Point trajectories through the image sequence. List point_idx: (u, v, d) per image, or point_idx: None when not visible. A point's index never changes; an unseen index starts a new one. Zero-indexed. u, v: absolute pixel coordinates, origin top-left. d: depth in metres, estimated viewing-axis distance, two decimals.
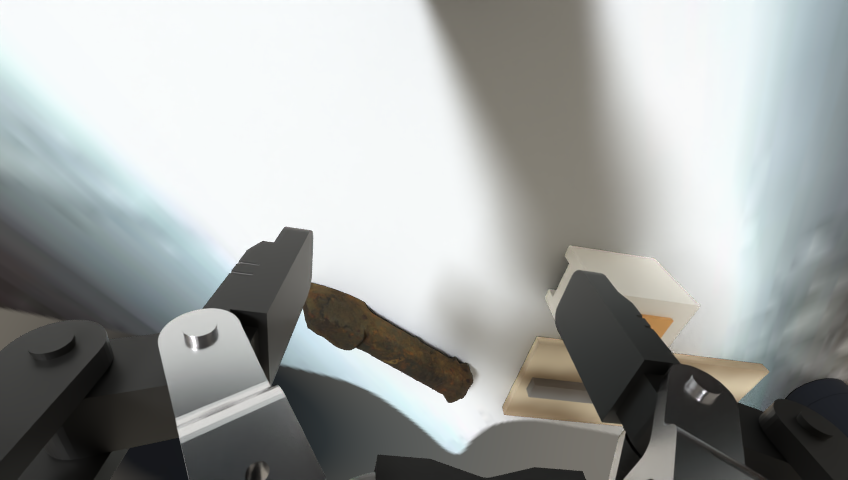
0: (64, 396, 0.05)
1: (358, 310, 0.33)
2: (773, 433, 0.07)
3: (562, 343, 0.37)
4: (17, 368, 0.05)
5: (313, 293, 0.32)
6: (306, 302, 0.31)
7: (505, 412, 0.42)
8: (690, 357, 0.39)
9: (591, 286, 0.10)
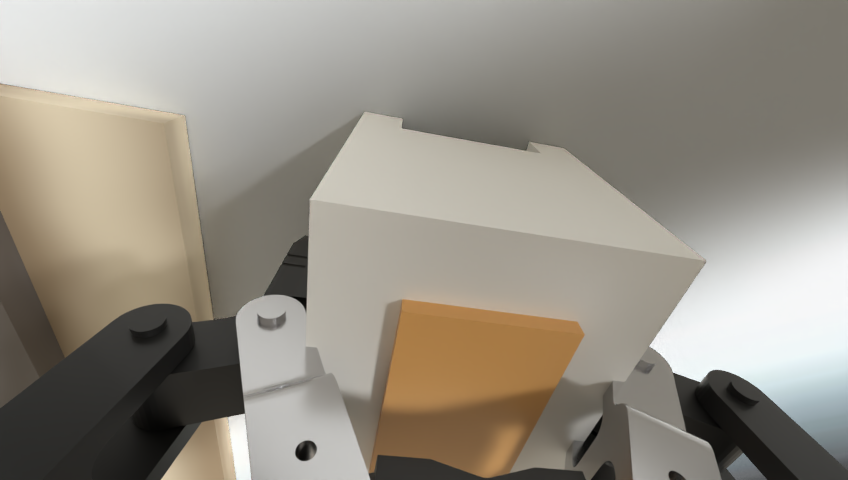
0: (151, 373, 0.05)
1: None
2: (710, 406, 0.07)
3: (187, 204, 0.11)
4: (118, 342, 0.06)
5: None
6: None
7: None
8: (230, 462, 0.18)
9: None
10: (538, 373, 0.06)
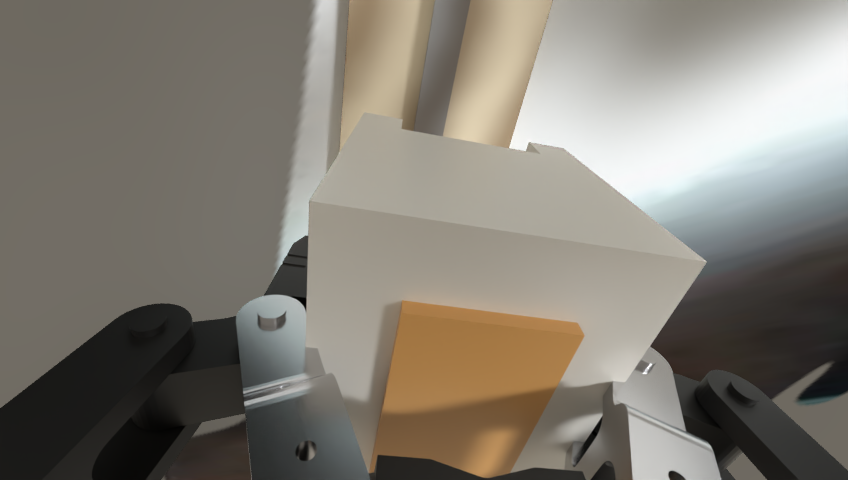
0: (151, 373, 0.05)
1: None
2: (709, 405, 0.07)
3: None
4: (119, 342, 0.06)
5: None
6: None
7: None
8: None
9: None
10: (538, 375, 0.06)
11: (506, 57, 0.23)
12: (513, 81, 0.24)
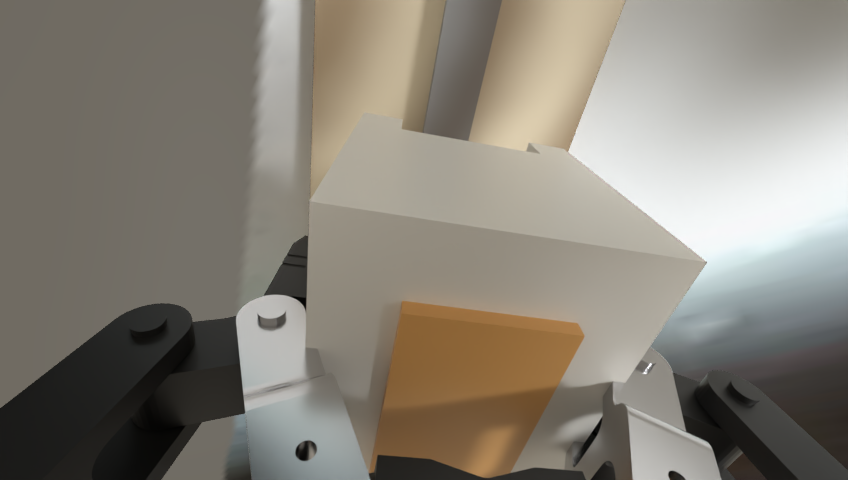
0: (151, 373, 0.05)
1: None
2: (710, 405, 0.07)
3: None
4: (119, 342, 0.06)
5: None
6: None
7: None
8: None
9: None
10: (538, 375, 0.06)
11: (555, 71, 0.16)
12: (563, 105, 0.16)
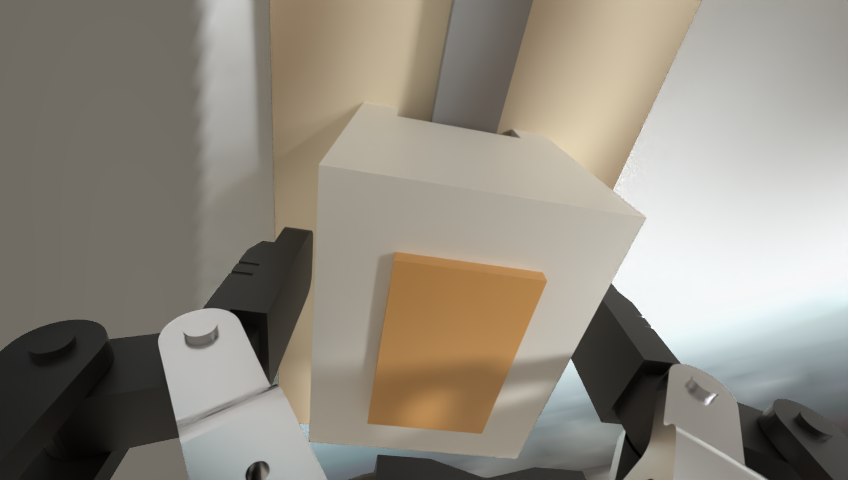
0: (64, 396, 0.05)
1: None
2: (773, 433, 0.07)
3: None
4: (17, 368, 0.05)
5: None
6: None
7: None
8: None
9: None
10: (510, 317, 0.08)
11: (603, 84, 0.11)
12: (611, 130, 0.12)
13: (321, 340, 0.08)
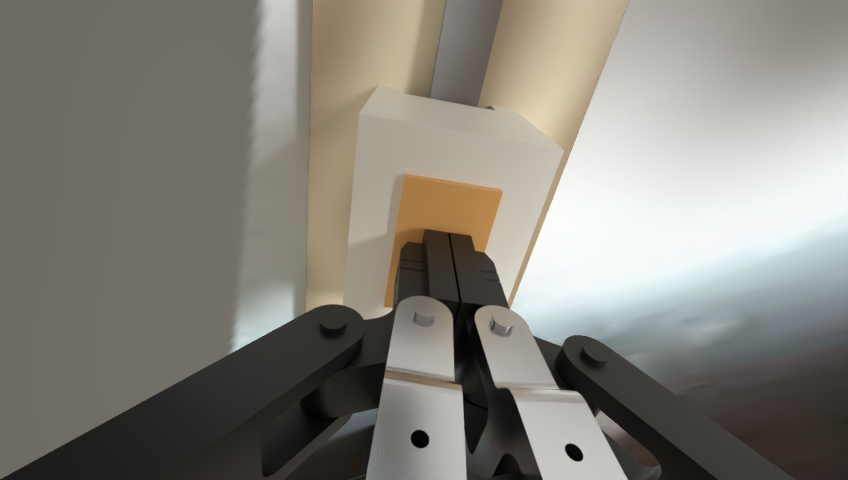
0: (323, 368, 0.06)
1: None
2: (573, 380, 0.07)
3: None
4: (309, 330, 0.07)
5: None
6: None
7: None
8: None
9: (451, 245, 0.11)
10: (480, 220, 0.11)
11: (557, 71, 0.15)
12: (565, 106, 0.16)
13: (354, 240, 0.12)
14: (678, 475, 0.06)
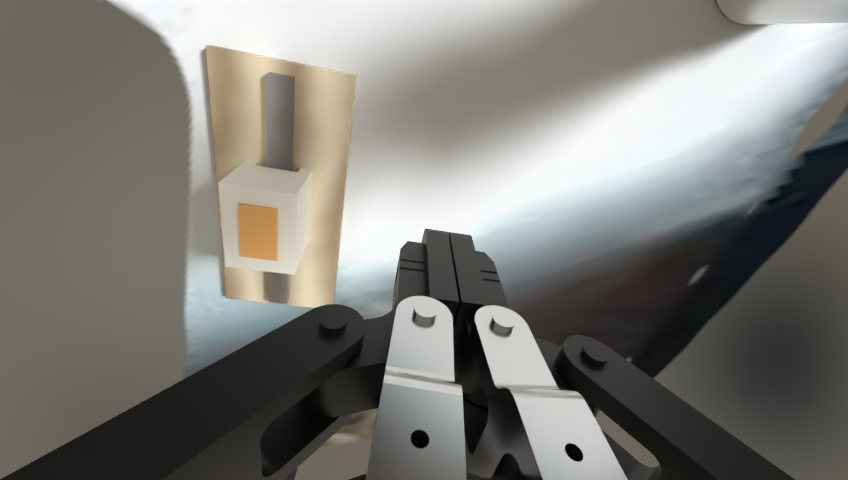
0: (323, 369, 0.06)
1: None
2: (573, 380, 0.07)
3: (353, 106, 0.33)
4: (309, 330, 0.07)
5: None
6: None
7: (211, 47, 0.29)
8: (339, 243, 0.40)
9: (451, 245, 0.11)
10: (271, 220, 0.30)
11: (327, 154, 0.34)
12: (335, 168, 0.35)
13: (224, 228, 0.31)
14: (678, 475, 0.06)
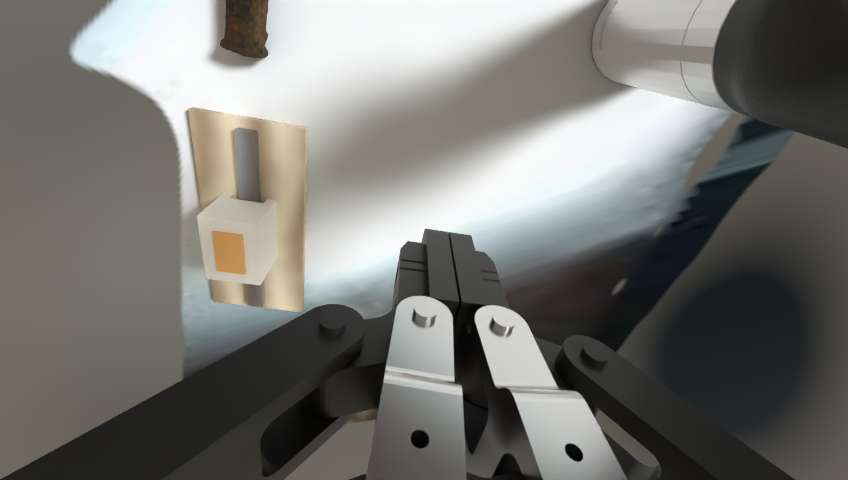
0: (323, 369, 0.06)
1: None
2: (573, 380, 0.07)
3: (305, 151, 0.41)
4: (309, 330, 0.07)
5: None
6: None
7: (192, 110, 0.38)
8: (304, 257, 0.48)
9: (451, 245, 0.11)
10: (238, 243, 0.39)
11: (287, 188, 0.42)
12: (295, 199, 0.43)
13: (203, 249, 0.39)
14: (678, 475, 0.06)
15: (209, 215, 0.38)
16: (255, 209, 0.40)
